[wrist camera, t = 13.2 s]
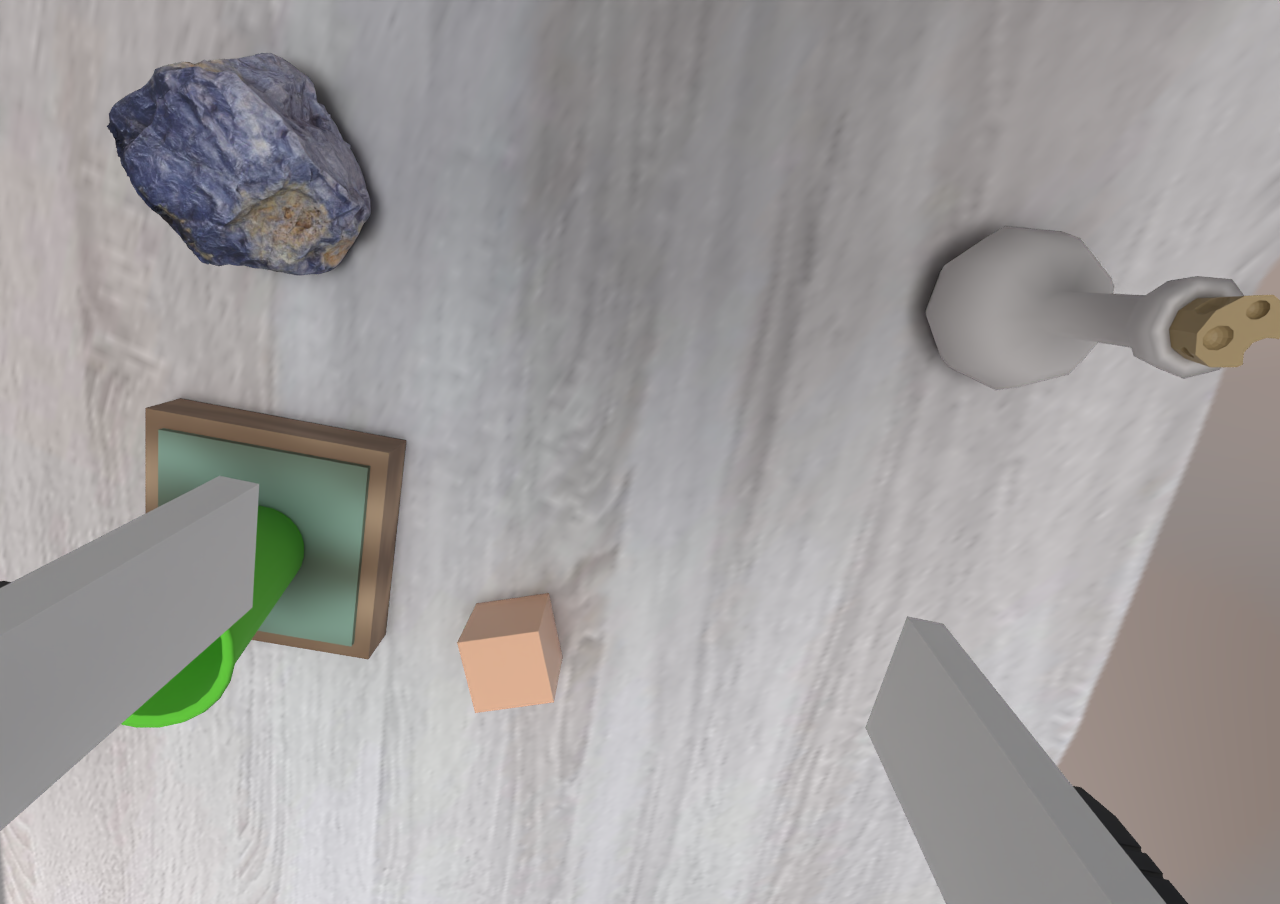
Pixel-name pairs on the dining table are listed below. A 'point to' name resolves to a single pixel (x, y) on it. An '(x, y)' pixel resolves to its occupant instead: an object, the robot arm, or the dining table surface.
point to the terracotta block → (511, 653)
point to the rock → (243, 164)
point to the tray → (297, 510)
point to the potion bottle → (1080, 313)
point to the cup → (230, 629)
